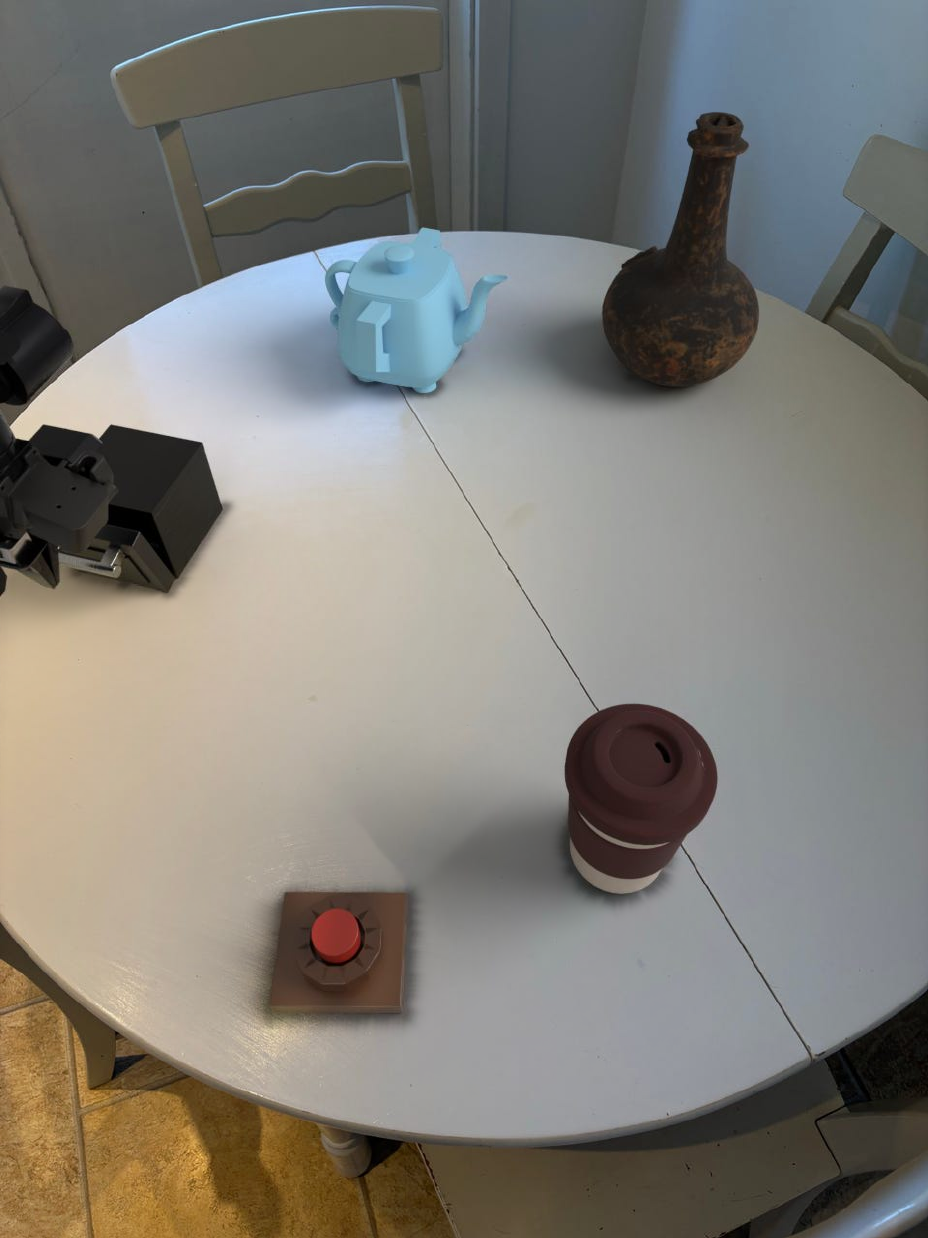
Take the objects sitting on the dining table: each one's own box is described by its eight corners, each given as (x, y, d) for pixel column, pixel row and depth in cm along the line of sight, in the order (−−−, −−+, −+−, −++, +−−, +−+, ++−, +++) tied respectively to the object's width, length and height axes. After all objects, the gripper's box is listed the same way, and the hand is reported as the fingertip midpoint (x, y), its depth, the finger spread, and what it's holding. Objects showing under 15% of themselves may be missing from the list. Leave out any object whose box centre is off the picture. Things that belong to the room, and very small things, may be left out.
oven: (177, 578, 87) (151, 513, 80) (87, 558, 88) (54, 491, 81) (223, 509, 93) (202, 442, 86) (137, 490, 94) (110, 423, 87)
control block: (273, 1013, 62) (263, 998, 59) (288, 900, 67) (280, 882, 64) (402, 1013, 62) (399, 999, 59) (407, 900, 67) (404, 882, 64)
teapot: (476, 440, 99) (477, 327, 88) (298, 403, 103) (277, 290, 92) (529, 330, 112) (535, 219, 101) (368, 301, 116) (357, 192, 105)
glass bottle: (666, 303, 115) (711, 64, 93) (775, 368, 107) (854, 121, 85) (565, 356, 108) (588, 111, 86) (673, 430, 100) (730, 178, 78)
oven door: (157, 616, 85) (119, 571, 77) (65, 594, 86) (19, 548, 79) (175, 578, 86) (140, 531, 78) (85, 557, 88) (41, 509, 80)
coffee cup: (541, 896, 67) (555, 805, 55) (563, 781, 73) (580, 677, 61) (674, 927, 65) (718, 840, 53) (686, 807, 71) (727, 705, 59)
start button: (312, 963, 61) (308, 955, 59) (317, 917, 63) (313, 908, 61) (359, 964, 61) (356, 955, 59) (362, 917, 63) (360, 908, 61)
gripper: (-10, 559, 57) (76, 694, 69) (136, 385, 68) (187, 528, 80) (-154, 525, 59) (-46, 662, 71) (10, 362, 70) (79, 504, 82)
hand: (52, 585), depth 76 cm, fingers closed
